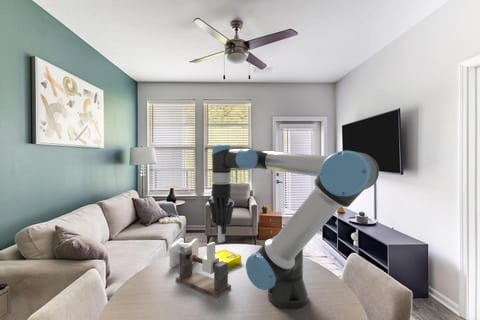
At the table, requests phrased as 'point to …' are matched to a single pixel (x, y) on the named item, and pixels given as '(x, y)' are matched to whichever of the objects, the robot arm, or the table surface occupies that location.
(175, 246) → the cable organizer
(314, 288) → the table surface
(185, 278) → the cord rack
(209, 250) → the sleeve
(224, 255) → the element tile
